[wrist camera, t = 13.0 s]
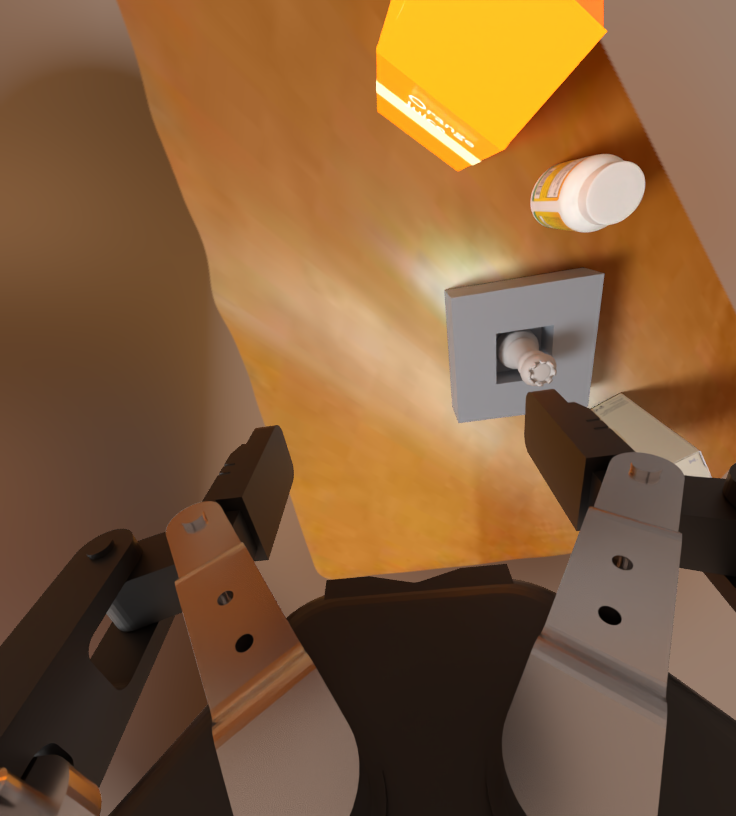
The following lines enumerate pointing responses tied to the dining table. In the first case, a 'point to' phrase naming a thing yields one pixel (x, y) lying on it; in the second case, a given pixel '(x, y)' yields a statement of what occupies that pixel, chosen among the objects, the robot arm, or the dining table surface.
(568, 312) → the socket block
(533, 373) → the rook chess piece
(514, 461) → the dining table surface
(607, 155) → the supplement bottle
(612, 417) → the skincare box
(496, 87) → the orange juice
